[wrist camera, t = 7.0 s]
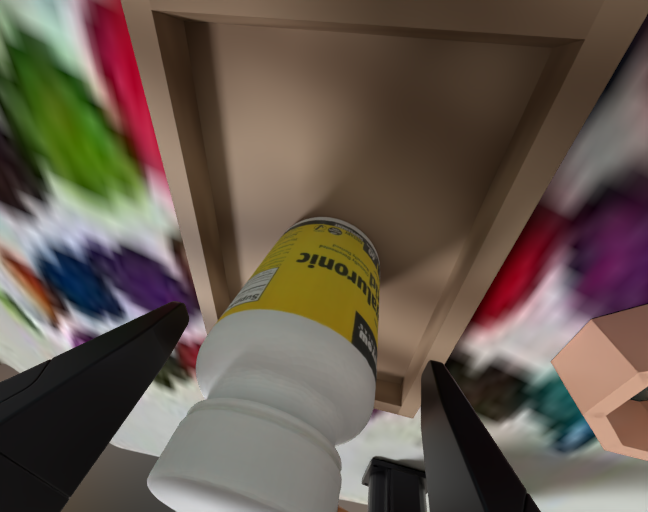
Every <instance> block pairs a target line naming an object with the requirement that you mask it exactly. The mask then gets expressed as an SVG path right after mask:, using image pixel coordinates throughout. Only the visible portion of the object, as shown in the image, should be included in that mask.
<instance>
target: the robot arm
mask: <svg viewBox="0 0 648 512" xmlns="http://www.w3.org/2000/svg"><path fill="white" fill-rule="evenodd" d="M188 322H189V316H188V312H187V309H186V306H185V304H184V303H181V302H176V301H173V302H170V303H168V304H166V305H164V306H161V307H159V308H157V309H155V310H153V311H151V312H149V313H147V314H145V315H142V316H140V317H138V318H136V319H134V320H132V321H130V322H128V323H126V324H124V325H121V326H119V327H117V328H115V329H113V330H111V331H109V332H107V333H105V334H102V335H100V336H98V337H96V338H94V339H92V340H90V341H88V342H86V343H83V344H81V345H79V346H77V347H75V348H73V349H71V350H69V351H67V352H64V353H62V354H60V355H58V356H56V357H54V358H52V360H47V361H45V362H43V363H41V364H39V365H37V366H35V367H33V368H30V369H28V370H26V371H24V372H22V373H20V374H17V375H15V376H13V377H11V378H9V379H6V380H4V381H2V382H0V512H61V510H62V509H63V507H64V506H65V505H66V503H67V502H68V500H69V498H70V497H71V496H72V494H73V493H74V491H75V490H76V489H77V487H78V486H79V484H80V483H81V482H82V480H83V479H84V477H85V476H86V475H87V473H88V472H89V470H90V469H91V467H92V466H93V465H94V463H95V462H96V460H97V459H98V458H99V456H100V455H101V453H102V452H103V451H104V449H105V448H106V446H107V445H108V443H109V442H110V441H111V439H112V438H113V436H114V435H115V434H116V432H117V431H118V429H119V428H120V427H121V425H122V424H123V422H124V421H125V419H126V418H127V417H128V415H129V414H130V412H131V411H132V410H133V408H134V407H135V405H136V404H137V402H138V401H139V400H140V398H141V397H142V395H143V394H144V393H145V391H146V390H147V388H148V387H149V385H150V384H151V383H152V381H153V380H154V378H155V377H156V376H157V374H158V373H159V371H160V370H161V368H162V367H163V366H164V364H165V363H166V361H167V359H168V358H169V356H170V355H171V353H172V351H173V349H174V348H175V346H176V344H177V342H178V341H179V339H180V337H181V335H182V334H183V332H184V330H185V328H186V327H187V325H188ZM421 432H422V443H423V452H424V461H425V470H426V473H422V472H419V471H415V470H412V469H408V468H405V467H401V466H398V465H394V464H391V463H387V462H384V461H380V460H376V459H372V460H371V461H370V463H369V465H368V467H367V469H366V471H365V473H364V476H363V478H362V484H363V485H365V486H369V493H368V512H427V506H426V494H427V492H428V498H429V508H430V512H541V511H540V510H539V508H538V507H537V505H536V504H535V502H534V501H533V499H532V498H531V496H530V495H529V494H528V493H527V491H526V489H525V487H524V486H523V484H522V483H521V481H520V480H519V478H518V476H517V475H516V473H515V472H514V470H513V469H512V467H511V466H510V464H509V463H508V461H507V460H506V458H505V457H504V455H503V454H502V452H501V451H500V449H499V447H498V446H497V444H496V443H495V441H494V440H493V438H492V437H491V435H490V434H489V432H488V431H487V429H486V428H485V426H484V425H483V423H482V422H481V420H480V418H479V417H478V415H477V414H476V412H475V411H474V409H473V408H472V406H471V405H470V403H469V402H468V400H467V399H466V397H465V396H464V394H463V393H462V391H461V389H460V388H459V386H458V385H457V383H456V382H455V380H454V379H453V377H452V376H451V374H450V373H449V371H448V370H447V368H446V367H445V365H444V364H443V363H442V362H439V361H435V360H429V361H428V363H427V365H426V367H425V369H424V371H423V373H422V376H421Z"/></svg>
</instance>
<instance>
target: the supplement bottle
mask: <svg viewBox="0 0 648 512" xmlns="http://www.w3.org/2000/svg"><path fill="white" fill-rule="evenodd" d="M379 296H380V262H379V258H378V254H377V252H376V249H375V247H374V246H373V244H372V242H371V241H370V240H369V238H368V237H367V236H366V235H365V234H364V233H363V232H362V231H360V230H359V229H358V228H356V227H355V226H353V225H351V224H349V223H347V222H345V221H342V220H339V219H335V218H330V217H314V218H309V219H305V220H303V221H300V222H298V223H296V224H295V225H293V226H292V227H290V228H289V229H288V230H287V231H286V232H285V233H284V234H283V235H282V236H281V238H280V239H279V240H278V241H277V243H276V244H275V245H274V247H273V248H272V249H271V250H270V252H269V253H268V254H267V256H266V257H265V258H264V260H263V261H262V263H261V264H260V265H259V267H258V268H257V269H256V271H255V272H254V273H253V275H252V276H251V277H250V279H249V280H248V281H247V283H246V284H245V285H244V287H243V288H242V289H241V291H240V292H239V293H238V295H237V296H236V297H235V299H234V300H233V301H232V303H231V304H230V305H229V307H228V308H227V309H226V311H225V312H224V313H223V314H222V316H221V317H220V319H219V320H218V321H217V323H216V324H215V325H214V327H213V328H212V329H211V331H210V332H209V334H208V335H207V337H206V339H205V340H204V342H203V344H202V345H201V348H200V350H199V353H198V356H197V362H196V377H197V381H198V385H199V388H200V390H201V392H202V394H203V396H204V398H205V400H203V401H200V402H198V403H196V404H195V405H194V406H192V407H191V408H190V410H189V411H188V413H187V416H186V417H185V418H184V419H183V420H182V421H181V422H180V424H179V426H178V427H177V429H176V431H175V432H174V434H173V435H172V437H171V439H170V441H169V442H168V444H167V446H166V447H165V449H164V451H163V452H162V454H161V456H160V457H159V459H158V461H157V462H156V464H155V466H154V467H153V469H152V471H151V472H150V474H149V477H148V479H147V485H148V487H149V489H150V491H151V492H152V493H153V494H154V496H155V497H156V498H158V499H159V500H160V501H162V502H163V503H165V504H166V505H167V506H169V507H170V508H172V509H174V510H175V511H177V512H337V508H338V500H339V494H340V489H341V482H342V479H341V474H340V471H341V459H340V456H339V454H338V452H337V450H336V449H335V447H336V446H339V445H342V444H345V443H347V442H349V441H350V440H352V439H353V438H355V437H356V436H357V435H358V434H360V432H361V431H362V430H363V429H364V428H365V426H366V425H367V423H368V421H369V419H370V417H371V415H372V411H373V408H374V402H375V390H376V380H377V348H378V322H379Z"/></svg>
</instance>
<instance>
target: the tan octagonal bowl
mask: <svg viewBox="0 0 648 512" xmlns="http://www.w3.org/2000/svg"><path fill="white" fill-rule="evenodd" d="M551 363H552V365H553V366H554V368H555V370H556V371H557V373H558V375H559V376H560V378H561V380H562V381H563V383H564V385H565V386H566V388H567V390H568V391H569V393H570V395H571V396H572V398H573V400H574V401H575V403H576V405H577V406H578V408H579V410H580V411H581V413H582V415H583V416H584V417H585V419H586V421H587V422H588V424H589V425H590V427H591V429H592V430H593V432H594V434H595V435H596V437H597V439H598V440H599V442H600V444H601V445H602V447H603V449H604V450H606V451H610V452H614V453H618V454H622V455H626V456H630V457H634V458H638V459H642V460H646V461H648V401H640V402H639V401H634V400H630V398H632V397H633V396H635V395H636V394H638V393H639V392H641V391H642V390H643V389H645V388H646V387H648V304H647V305H643V306H639V307H636V308H632V309H628V310H624V311H621V312H617V313H613V314H610V315H606V316H602V317H598V318H595V319H591V320H590V321H589V322H588V323H587V324H586V325H585V326H584V327H583V328H582V329H581V331H580V332H579V333H578V334H577V335H576V336H575V337H574V338H573V339H572V340H571V341H570V342H569V343H568V344H567V345H566V346H565V347H564V348H563V349H562V350H561V351H560V352H559V353H558V355H557V356H556V357H555V358H554V359H553V360H552V361H551Z"/></svg>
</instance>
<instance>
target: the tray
mask: <svg viewBox="0 0 648 512" xmlns="http://www.w3.org/2000/svg"><path fill="white" fill-rule="evenodd" d="M121 3H122V7H123V11H124V15H125V18H126V22H127V26H128V30H129V34H130V38H131V42H132V46H133V49H134V53H135V57H136V61H137V65H138V69H139V73H140V77H141V80H142V84H143V88H144V92H145V96H146V100H147V104H148V108H149V111H150V115H151V119H152V123H153V127H154V131H155V135H156V139H157V142H158V146H159V150H160V154H161V158H162V162H163V166H164V170H165V173H166V177H167V181H168V185H169V189H170V193H171V197H172V201H173V204H174V208H175V212H176V216H177V220H178V224H179V228H180V231H181V235H182V239H183V243H184V247H185V251H186V255H187V259H188V262H189V266H190V270H191V274H192V278H193V282H194V286H195V290H196V293H197V297H198V301H199V305H200V309H201V313H202V317H203V321H204V324H205V328H206V332H207V335H208V334H209V332H210V331H211V329H212V328H213V327H214V325H215V324H216V323H217V321H218V320H219V319H220V317H221V316H222V314H223V313H224V312H225V311H226V309H227V308H228V307H229V305H230V304H231V303H232V301H233V300H234V299H235V297H236V296H237V295H238V293H239V292H240V291H241V289H242V288H243V287H244V285H245V284H246V283H247V281H248V280H249V279H250V277H251V276H252V275H253V273H254V272H255V271H256V269H257V268H258V267H259V265H260V264H261V263H262V261H263V260H264V258H265V257H266V256H267V254H268V253H269V252H270V250H271V249H272V248H273V247H274V245H275V244H276V243H277V241H278V240H279V239H280V238H281V236H282V235H283V234H284V233H285V232H286V231H287V230H288V229H289V228H290V227H292V226H293V225H295V224H296V223H298V222H300V221H303V220H305V219H309V218H314V217H330V218H335V219H339V220H342V221H345V222H347V223H349V224H351V225H353V226H355V227H356V228H358V229H359V230H360V231H362V232H363V233H364V234H365V235H366V236H367V237H368V238H369V240H370V241H371V242H372V244H373V246H374V247H375V249H376V252H377V254H378V258H379V262H380V296H379V322H378V348H377V380H376V390H375V402H374V408H375V409H378V410H382V411H386V412H390V413H394V414H398V415H402V416H405V417H409V418H414V416H415V414H416V413H417V411H418V409H419V408H420V406H421V376H422V373H423V371H424V369H425V367H426V365H427V363H428V361H429V360H435V361H439V362H442V363H443V364H445V363H446V361H447V359H448V357H449V356H450V354H451V352H452V351H453V349H454V347H455V345H456V344H457V342H458V340H459V339H460V337H461V335H462V333H463V332H464V330H465V328H466V326H467V325H468V323H469V321H470V320H471V318H472V316H473V314H474V313H475V311H476V309H477V307H478V306H479V304H480V302H481V301H482V299H483V297H484V295H485V294H486V292H487V290H488V288H489V287H490V285H491V283H492V282H493V280H494V278H495V276H496V275H497V273H498V271H499V270H500V268H501V266H502V264H503V263H504V261H505V259H506V257H507V256H508V254H509V252H510V251H511V249H512V247H513V245H514V244H515V242H516V240H517V238H518V237H519V235H520V233H521V232H522V230H523V228H524V226H525V225H526V223H527V221H528V219H529V218H530V216H531V214H532V213H533V211H534V209H535V207H536V206H537V204H538V202H539V200H540V199H541V197H542V195H543V194H544V192H545V190H546V188H547V187H548V185H549V183H550V182H551V180H552V178H553V176H554V175H555V173H556V171H557V169H558V168H559V166H560V164H561V163H562V161H563V159H564V157H565V156H566V154H567V152H568V150H569V149H570V147H571V145H572V144H573V142H574V140H575V138H576V137H577V135H578V133H579V131H580V130H581V128H582V126H583V125H584V123H585V121H586V119H587V118H588V116H589V114H590V113H591V111H592V109H593V107H594V106H595V104H596V102H597V100H598V99H599V97H600V95H601V94H602V92H603V90H604V88H605V87H606V85H607V83H608V81H609V80H610V78H611V76H612V75H613V73H614V71H615V69H616V68H617V66H618V64H619V62H620V61H621V59H622V57H623V56H624V54H625V52H626V50H627V49H628V47H629V45H630V44H631V42H632V40H633V38H634V37H635V35H636V33H637V31H638V30H639V28H640V26H641V25H642V23H643V21H644V19H645V18H646V16H647V14H648V0H121Z"/></svg>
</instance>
